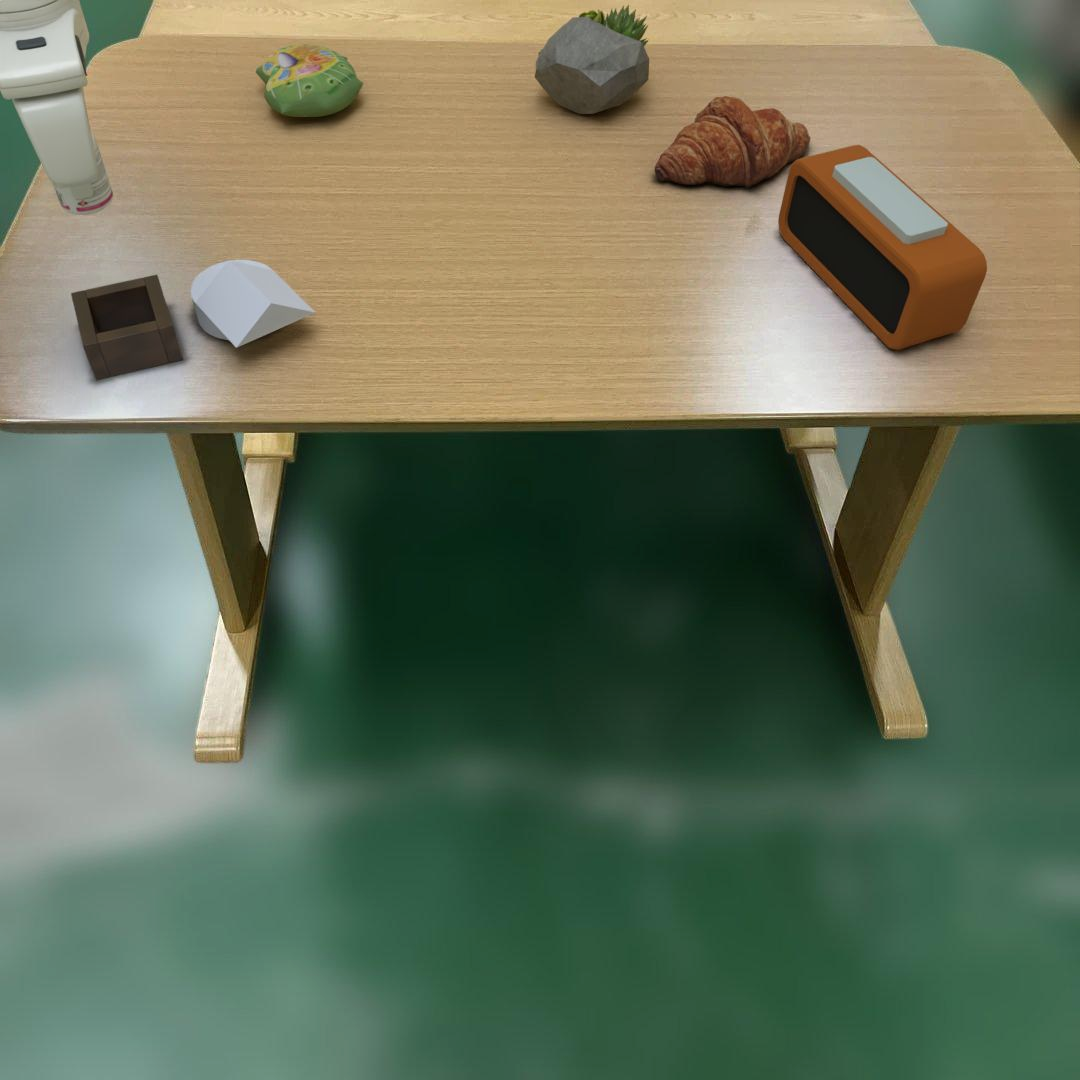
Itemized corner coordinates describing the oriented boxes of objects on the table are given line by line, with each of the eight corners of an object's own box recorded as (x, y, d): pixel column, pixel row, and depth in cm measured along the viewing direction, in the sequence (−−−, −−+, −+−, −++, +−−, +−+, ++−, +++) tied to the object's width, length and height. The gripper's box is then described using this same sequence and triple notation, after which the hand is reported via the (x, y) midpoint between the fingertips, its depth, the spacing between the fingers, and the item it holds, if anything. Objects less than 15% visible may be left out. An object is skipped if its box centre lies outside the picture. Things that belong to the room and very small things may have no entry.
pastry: (698, 115, 144) (706, 56, 138) (811, 145, 140) (826, 85, 134) (650, 181, 134) (658, 120, 128) (771, 215, 131) (785, 154, 124)
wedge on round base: (319, 338, 115) (257, 275, 121) (311, 285, 110) (246, 222, 116) (242, 373, 111) (182, 306, 117) (229, 320, 106) (167, 253, 112)
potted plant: (513, 75, 143) (574, 1, 147) (582, 148, 147) (639, 74, 152) (557, 34, 132) (621, -45, 137) (630, 114, 137) (690, 35, 141)
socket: (96, 380, 110) (82, 345, 107) (83, 327, 115) (70, 292, 111) (183, 359, 112) (172, 325, 109) (167, 308, 117) (157, 274, 114)
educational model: (345, 61, 151) (341, 21, 147) (374, 121, 141) (370, 81, 137) (252, 75, 148) (244, 35, 144) (275, 137, 138) (268, 96, 134)
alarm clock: (773, 231, 129) (793, 142, 120) (833, 215, 131) (857, 126, 122) (896, 359, 115) (929, 269, 106) (961, 338, 117) (998, 249, 109)
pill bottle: (123, 189, 103) (97, 105, 97) (101, 219, 100) (73, 134, 94) (74, 183, 104) (45, 99, 97) (51, 213, 101) (20, 128, 94)
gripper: (-26, -26, 94) (28, 123, 105) (-2, 91, 83) (56, 246, 93) (51, -37, 96) (96, 111, 107) (85, 77, 84) (132, 231, 95)
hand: (78, 175), depth 100 cm, fingers closed on pill bottle, 5 cm apart
